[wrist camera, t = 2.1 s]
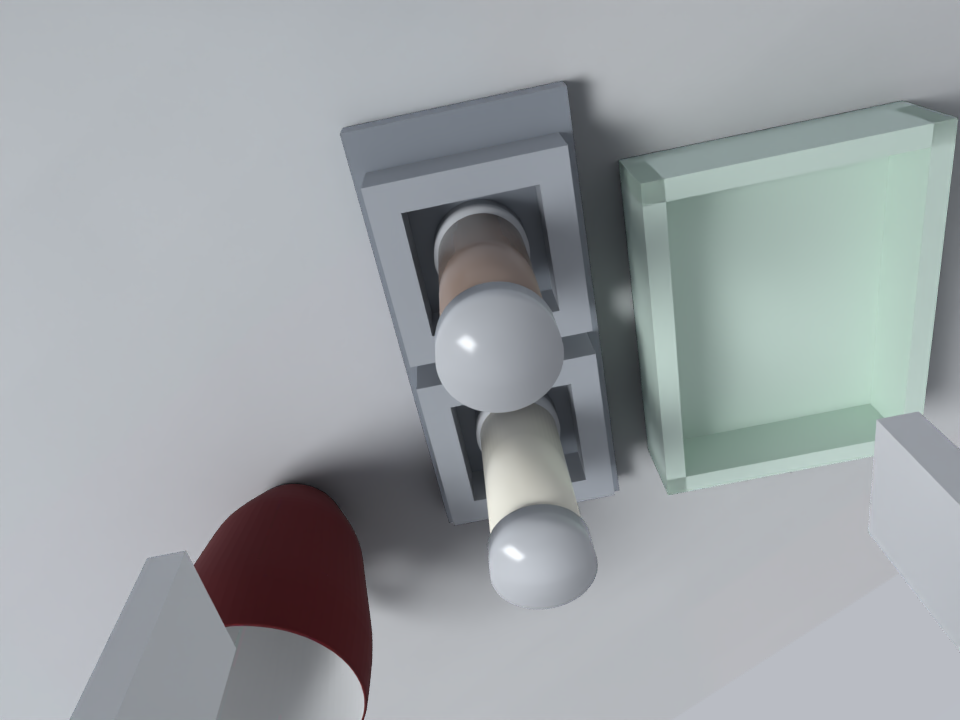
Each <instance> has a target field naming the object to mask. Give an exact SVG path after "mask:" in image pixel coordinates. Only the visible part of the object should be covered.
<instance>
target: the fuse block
mask: <svg viewBox="0 0 960 720" xmlns="http://www.w3.org/2000/svg"><path fill="white" fill-rule="evenodd" d="M340 136H341V140H342V143H343V147H344V150H345V154H346V158H347V161H348V165H349V168H350V172H351V175H352V179H353V182H354V186H355V190H356V193H357V197H358V200H359V204H360V207H361V211H362V215H363V218H364V222H365V225H366V229H367V232H368V236H369V239H370V243H371V247H372V250H373V254H374V257H375V261H376V264H377V268H378V272H379V275H380V279H381V282H382V286H383V289H384V293H385V296H386V300H387V304H388V307H389V311H390V314H391V318H392V321H393V325H394V329H395V332H396V336H397V339H398V343H399V346H400V350H401V353H402V357H403V361H404V364H405V368H406V371H407V375H408V378H409V382H410V385H411V389H412V393H413V396H414V400H415V403H416V407H417V410H418V414H419V418H420V421H421V425H422V428H423V432H424V435H425V439H426V442H427V446H428V450H429V453H430V457H431V460H432V464H433V467H434V471H435V475H436V478H437V482H438V485H439V489H440V492H441V496H442V499H443V503H444V507H445V510H446V514H447V517H448V521H449V523H450V522H453V523H454V526H455V525H460V524H465V523H470V522H476V521H481V520H486V519H489V517H488V507H487V498H486V488H485V478H484V469H483V459H482V451H481V450H480V448H479V446H478V443H477V437H476V426H475V414H476V410H475V409H472V408H470V407H468V406H466V405H464V404H462V403H460V402H459V401H457V400H456V399H455V398H454V397H452V396H451V395H450V394H449V392H448V391H447V390H446V389H445V387H444V386H443V385H442V383H441V381H440V379H439V376H438V373H437V369H436V364H435V332H436V327H437V323H438V320H439V318H440V308H439V275H438V273H437V270H436V267H435V262H434V236H435V232H436V229H437V227H438V225H439V223H440V221H441V220H442V218H443V217H444V216H445V215H446V214H447V213H448V212H449V211H450V210H451V209H452V208H454V207H455V206H457V205H459V204H461V203H463V202H466V201H470V200H476V199H486V200H492V201H496V202H498V203H501V204H503V205H505V206H506V207H508V208H509V209H510V210H512V211H513V212H514V213H515V214H516V215H517V217H518V218H519V220H520V221H521V223H522V225H523V228H524V230H525V233H526V236H527V239H528V242H529V247H530V261H531V264H532V267H533V271H534V274H535V277H536V280H537V283H538V286H539V289H540V292H541V295H542V298H543V300H544V301H545V302H546V303H547V305H548V306H549V308H550V309H551V311H552V313H553V315H554V318H555V320H556V323H557V326H558V329H559V332H560V335H561V338H562V342H563V347H564V361H563V365H562V369H561V372H560V375H559V376H558V378H557V380H556V382H555V383H554V385H553V386H552V388H551V389H550V390H549V391H548V392H547V394H548V396H549V397H550V398H551V400H552V401H553V403H554V406H555V409H556V413H557V416H558V420H559V424H560V441H561V445H562V449H563V452H564V456H565V460H566V464H567V467H568V471H569V475H570V478H571V482H572V486H573V490H574V493H575V497H576V501H577V502H581V501H586V500H591V499H596V498H602V497H607V496H612V495H615V494H614V491H618V490H619V484H618V477H617V469H616V461H615V454H614V446H613V438H612V430H611V423H610V415H609V407H608V400H607V392H606V384H605V376H604V369H603V361H602V353H601V346H600V338H599V330H598V323H597V315H596V307H595V299H594V292H593V284H592V276H591V269H590V261H589V253H588V245H587V238H586V230H585V222H584V215H583V207H582V199H581V192H580V184H579V176H578V168H577V161H576V153H575V145H574V138H573V130H572V122H571V114H570V107H569V99H568V91H567V85H566V84H565V83H564V82H563V81H560V82H555V83H551V84H546V85H541V86H537V87H532V88H527V89H523V90H518V91H513V92H509V93H504V94H499V95H495V96H490V97H485V98H481V99H476V100H471V101H466V102H462V103H457V104H452V105H448V106H443V107H438V108H434V109H429V110H424V111H420V112H415V113H410V114H406V115H401V116H396V117H392V118H387V119H382V120H378V121H373V122H368V123H364V124H359V125H354V126H350V127H345V128H343V129H342V131H341V133H340Z"/></svg>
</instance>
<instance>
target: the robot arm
mask: <svg viewBox="0 0 960 720" xmlns="http://www.w3.org/2000/svg"><path fill="white" fill-rule="evenodd" d="M868 533H869V534H870V536H871V537H872V538H873V539H874V541H875V542H876V543H877V545H878V546H879V547H880V549H881V550H882V551H883V553H884V554H885V555H886V557H887V558H888V559H889V560H890V562H891V563H892V564H893V566H894V567H895V568H896V570H897V571H898V572H899V574H900V575H901V576H902V577H903V579H904V580H905V581H906V583H907V584H908V585H909V587H910V588H911V589H912V591H913V592H914V593H915V594H916V596H917V597H918V598H919V600H920V601H921V602H922V604H923V605H924V606H925V608H926V609H927V610H928V611H929V613H930V614H931V615H932V617H933V618H934V619H935V621H936V622H937V623H938V624H939V626H940V627H941V629H942V630H943V631H944V633H945V634H946V635H947V636H948V638H949V639H950V640H951V642H952V643H953V644H954V645H955V647H956V648H957V649H958V651H959V652H960V449H959V448H958V447H957V446H956V445H954V444H953V443H952V442H951V441H950V440H949V439H948V438H947V437H946V436H945V435H944V434H943V433H941V432H940V431H939V430H938V429H937V428H936V427H935V426H934V425H933V424H932V423H931V422H930V421H929V420H927V419H926V418H925V417H924V416H923V415H922V414H921V413H920V412H919V411H918V412H913V413H907V414H902V415H897V416H892V417H886V418H881V419H877V420H876V434H875V447H874V460H873V473H872V486H871V500H870V513H869V526H868ZM235 651H236V647H235V645H234V643H233V641H232V639H231V637H230V635H229V634H228V632H227V630H226V628H225V626H224V624H223V622H222V620H221V618H220V616H219V614H218V612H217V610H216V608H215V606H214V604H213V602H212V600H211V598H210V596H209V595H208V593H207V591H206V589H205V587H204V585H203V583H202V581H201V579H200V577H199V575H198V573H197V571H196V569H195V567H194V565H193V563H192V561H191V559H190V558H189V556H188V554H187V552H186V551H182V552H177V553H172V554H166V555H161V556H156V557H151V558H147V560H146V562H145V564H144V566H143V568H142V570H141V573H140V575H139V577H138V579H137V581H136V583H135V585H134V587H133V589H132V591H131V593H130V595H129V598H128V600H127V602H126V604H125V606H124V608H123V610H122V612H121V614H120V616H119V618H118V620H117V623H116V625H115V627H114V629H113V631H112V633H111V635H110V637H109V639H108V641H107V643H106V645H105V648H104V650H103V652H102V654H101V656H100V658H99V660H98V662H97V664H96V666H95V668H94V670H93V673H92V675H91V677H90V679H89V681H88V683H87V685H86V687H85V689H84V691H83V693H82V695H81V698H80V700H79V702H78V704H77V706H76V708H75V710H74V712H73V714H72V716H71V718H70V720H216V717H217V714H218V710H219V707H220V703H221V700H222V696H223V693H224V689H225V686H226V682H227V679H228V675H229V672H230V668H231V665H232V661H233V658H234V654H235Z"/></svg>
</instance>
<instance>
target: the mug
mask: <svg viewBox="0 0 960 720" xmlns="http://www.w3.org/2000/svg"><path fill="white" fill-rule="evenodd" d="M194 567H195V569H196V571H197V573H198V575H199V577H200V579H201V581H202V583H203V585H204V587H205V589H206V591H207V593H208V595H209V596H210V598H211V600H212V602H213V604H214V606H215V608H216V610H217V612H218V614H219V616H220V618H221V620H222V622H223V624H224V626H225V628H226V630H227V632H228V634H229V635H230V637H231V639H232V641H233V643H234V645H235V647H236V651H235V654H234V658H233V661H232V665H231V668H230V672H229V675H228V679H227V682H226V686H225V689H224V693H223V696H222V700H221V703H220V707H219V710H218V714H217V717H216V720H364V717H365V714H366V710H367V703H368V695H369V687H370V678H371V667H372V628H371V619H370V611H369V604H368V596H367V588H366V580H365V572H364V564H363V557H362V552H361V548H360V545H359V541H358V539H357V536H356V534H355V532H354V530H353V528H352V527H351V525H350V523H349V522H348V520H347V519H346V517H345V516H344V514H343V513H342V512H341V510H340V509H339V507H338V506H337V505H336V503H335V502H334V501H333V500H332V499H331V498H330V497H329V496H328V495H327V494H325V493H324V492H322V491H320V490H319V489H316V488H314V487H311V486H308V485H302V484H286V485H281V486H278V487H275V488H272V489H270V490H268V491H266V492H265V493H263V494H261V495H259V496H258V497H256V498H254V499H252V500H251V501H249V502H248V503H246V504H245V505H243V506H242V507H240V508H239V509H238V510H236V511H235V512H234V513H233V514H232V515H230V516H229V517H228V518H227V519H226V520H225V522H224V523H223V524H222V525H221V526H220V528H219V529H218V530H217V532H216V533H215V534H214V536H213V537H212V539H211V540H210V542H209V543H208V545H207V546H206V548H205V549H204V551H203V552H202V554H201V555H200V557H199V558H198V560H197V561H196V563H195V564H194Z"/></svg>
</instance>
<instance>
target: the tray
mask: <svg viewBox="0 0 960 720" xmlns="http://www.w3.org/2000/svg"><path fill="white" fill-rule="evenodd" d="M957 125H958V118H957V117H953V116H950V115H947V114H944V113H940V112H937V111H934V110H931V109H927V108H924V107H921V106H918V105H915V104H911V103H908V102H905V101H899V102H894V103H889V104H884V105H880V106H875V107H870V108H865V109H861V110H856V111H851V112H846V113H841V114H837V115H832V116H827V117H822V118H817V119H813V120H808V121H803V122H798V123H794V124H789V125H784V126H779V127H774V128H770V129H765V130H760V131H755V132H750V133H746V134H741V135H736V136H731V137H727V138H722V139H717V140H712V141H707V142H703V143H698V144H693V145H688V146H683V147H679V148H674V149H669V150H664V151H660V152H655V153H650V154H645V155H640V156H636V157H631V158H626V159H621V160H619V169H620V179H621V189H622V199H623V208H624V218H625V228H626V238H627V248H628V258H629V267H630V277H631V287H632V297H633V307H634V316H635V326H636V336H637V346H638V356H639V365H640V375H641V385H642V395H643V405H644V414H645V424H646V434H647V444H648V451H649V453H650V455H651V457H652V460H653V462H654V464H655V466H656V469H657V471H658V473H659V475H660V478H661V480H662V482H663V485H664V487H665V489H666V491H667V494H668V495H672V494H677V493H682V492H688V491H693V490H698V489H704V488H709V487H714V486H719V485H725V484H730V483H735V482H740V481H746V480H751V479H756V478H761V477H767V476H772V475H777V474H782V473H788V472H793V471H798V470H804V469H809V468H814V467H819V466H825V465H830V464H835V463H840V462H846V461H851V460H856V459H861V458H867V457H872V456H874V447H875V434H876V420H877V419H881V418H886V417H892V416H897V415H902V414H907V413H913V412H918V411H919V412H920V413H921V414H922V415H923V412H924V403H925V395H926V386H927V378H928V370H929V361H930V353H931V344H932V336H933V327H934V319H935V311H936V302H937V294H938V285H939V277H940V268H941V260H942V252H943V243H944V235H945V226H946V218H947V209H948V201H949V193H950V184H951V176H952V167H953V159H954V150H955V142H956V134H957Z"/></svg>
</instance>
